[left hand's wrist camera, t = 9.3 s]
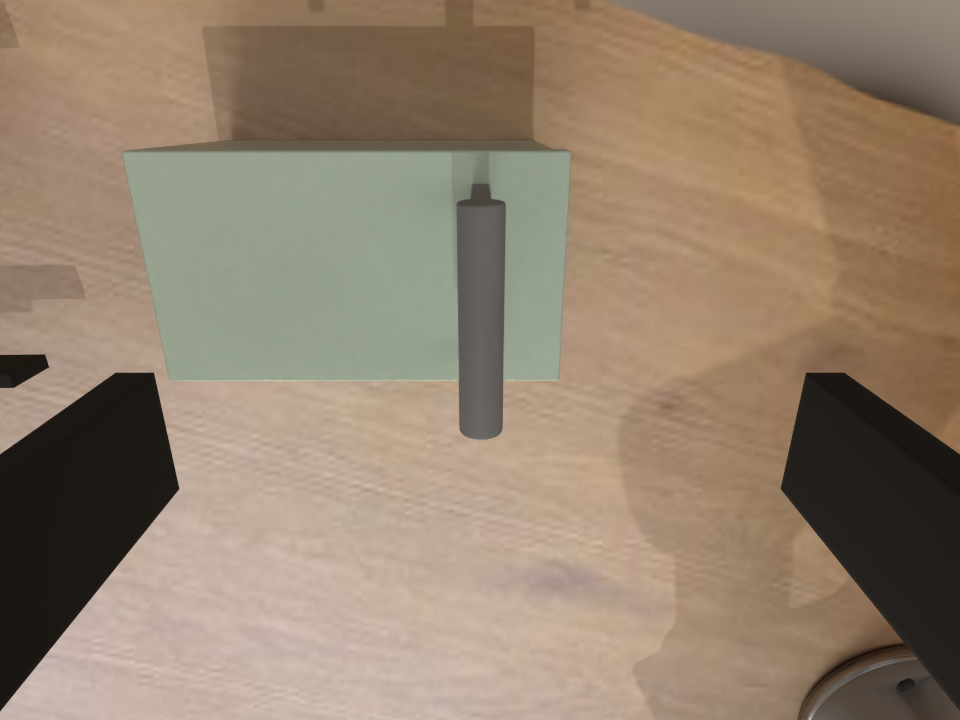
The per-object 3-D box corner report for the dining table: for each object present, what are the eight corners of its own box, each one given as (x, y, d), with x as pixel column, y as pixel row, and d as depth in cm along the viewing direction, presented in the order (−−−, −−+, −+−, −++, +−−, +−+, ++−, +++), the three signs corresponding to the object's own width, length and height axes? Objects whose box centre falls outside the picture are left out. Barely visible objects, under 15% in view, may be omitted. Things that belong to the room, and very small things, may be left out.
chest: (534, 140, 33) (554, 149, 24) (529, 307, 37) (545, 370, 28) (230, 139, 33) (136, 149, 24) (254, 307, 37) (181, 370, 28)
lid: (567, 149, 24) (608, 164, 16) (556, 371, 28) (585, 468, 20) (136, 149, 24) (-25, 165, 16) (180, 371, 28) (66, 469, 20)
